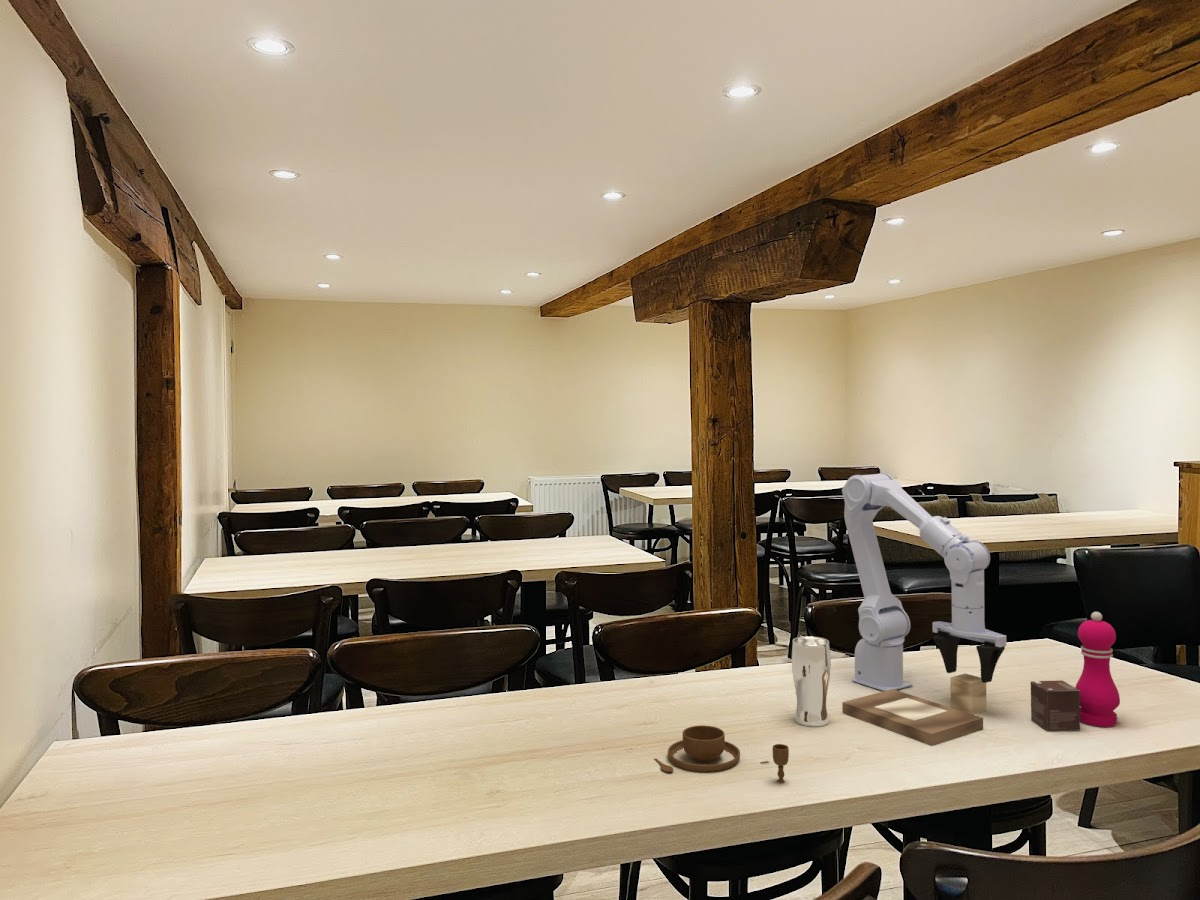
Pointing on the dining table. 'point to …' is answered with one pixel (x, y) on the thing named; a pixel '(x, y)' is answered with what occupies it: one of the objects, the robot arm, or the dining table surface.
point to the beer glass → (811, 679)
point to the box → (1055, 705)
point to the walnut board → (913, 716)
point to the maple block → (968, 693)
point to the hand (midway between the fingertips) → (968, 676)
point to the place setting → (714, 751)
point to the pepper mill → (1097, 673)
